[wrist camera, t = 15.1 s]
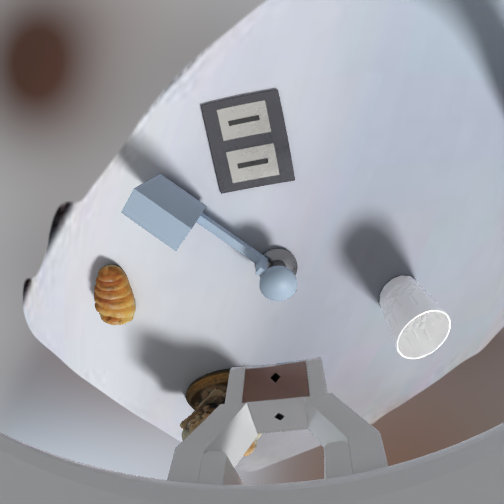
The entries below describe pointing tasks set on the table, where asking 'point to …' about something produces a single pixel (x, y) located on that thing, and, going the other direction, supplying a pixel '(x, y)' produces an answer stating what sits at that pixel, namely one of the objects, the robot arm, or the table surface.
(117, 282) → the pastry
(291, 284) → the swing arm
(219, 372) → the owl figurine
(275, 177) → the label panel
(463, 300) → the table surface
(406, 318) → the white cup
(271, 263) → the pivot post
